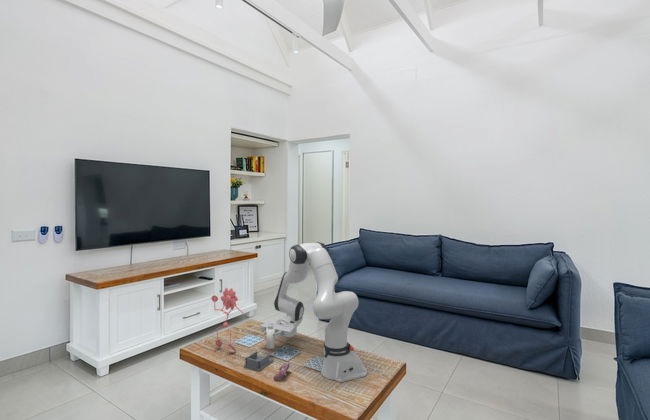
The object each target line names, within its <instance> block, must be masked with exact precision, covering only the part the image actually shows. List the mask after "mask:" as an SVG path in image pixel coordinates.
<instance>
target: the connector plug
mask: <svg viewBox="0 0 650 420" xmlns="http://www.w3.org/2000/svg"><path fill="white" fill-rule="evenodd" d="M273 333H275V328H274V327H273V324H268V328H267V329H266V335H265V336H266V342H265V343H266V344H265V345H266V347H265V348H267V349H269V350H270V349H274V348H275V346H276V345H275V344H276V342H275V341H276V339H275V338H276V337H273Z"/></svg>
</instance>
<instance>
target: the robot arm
mask: <svg viewBox="0 0 650 420" xmlns="http://www.w3.org/2000/svg"><path fill="white" fill-rule="evenodd" d="M288 251H289V253H288V256H289V265H288V270H287V271H285V272H284V273H283V275H282V277H281V280H280V283H279V288H278V291H277V294H276V297H275V298H274V302H273V306H274V310H276V311H277V312H280V313H283V314H285V315H286V316H283V317H281V318H279V319H278V320H277V321H276V322H273V321H267V322H265V323H262V324H260V332H262V333H263V334H264V336H266V329H267V328H268V324H273V327H274V328H275V333H273V337H275V338H276V337H286V338H292V337H294V336H295V335H297V330H298V326H300V324H301V323H302V322H303V319H304V318H303V317H304V316H303V315H304V313H305V312H304V311H305V308H304V307H305V306H304V304H303V302H302V301H301V300H298V299H296V298H293V297H290V296H288V294H287V292H288V288H289V285H290V284H299V283H302V282H304V281H305V279H307V276H308V271H309V264H310V265H311V269H312V271H313V275H314V277H315V281H316V285H317V286H316V287H317V295H316V298H315V299H314V302H313V303H312V304H313V305H312V311H313V314H314V316H315V317H316V318H317V319H319V320H329V322H328V323H327V324H325V325H326V326H325V328H324V343H323V351H322V352H323V362H322V366H321V367H322V368H321V370H320V374H321V375H322V376H323V377H324V378H326V379H329V380H333V381H335V382H338V383H344V382H347V381H351V380H356V379H360V378H363V377H364V378H365V377H366V376H367V375H368V371H367V368H366V366H365V365H364V364H363V363H362V360H361V358H360V357H359V355H358V354H357V353H355V352H354V349H355V347H354V346H353V345H351V344H350V343H349V342H348V333H349V332H348V329H349V324H350V322H351V319H352V316H353V314H354V312H355V311H356V310H357V309H358V307H359V303H360V301H359V298H358V296H357V294H356V293H355V292H353V291H350V290H349V291H347V290H346V291H345V290H344V291H339V292H336V291H335V290H336V289H335V285H336V284H337V283H338V281H339V276H338V273H337V271H336V268H335V265H334V263H333V260H332V257H331V256H330V254H329V251H328V248H327V245H326V244H325V243H324V242H304V243H299V244H294V245H292V246H291V247H290V249H289V250H288Z"/></svg>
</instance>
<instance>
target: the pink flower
mask: <svg viewBox="0 0 650 420" xmlns="http://www.w3.org/2000/svg"><path fill="white" fill-rule="evenodd" d="M236 294H237V292H236V291H235V290H234V289H233V288H229V287H225V288H224V290H223V292H222V296H220V301H221V302H222V306H223V307H222V308H221V309H219V308H218V309H217V308H216V302H218V300H219V298H218V296H217V295H216V294H213V295H212V296H211V301H212V302H213V303H214V305H213V307H214V309H213V310H214V311H220V312H223V314H225V315H226V320H225V322H223V324H222V325H220V326H219V327H217V328H216V329H215V331H216V336H217V339H216V340H215V341H214V342H215V347H214V351H213V352H216V350H217V348H221V347H222V345H223V341H221V339H219V333H218V329H220V328H222V327H223V328H227V329H228V330H229V332H230V335H229V342H227V345H228V347H227V350H226V352H225V355H224V356H225V357H227V354H228V352H229V350H230V349H231V350H232V351H234V352H235V353H237V350H236V348H235V347H234V346H233V345H232V341H231V339H232V332H231V329H230V328H229V323H228V317H229V315H230V314H231V312H232V311H233V310H234V309H235V308H236V309H237V311H240V313H242V314H243V315H244V314H245V313H244V312H243V310H241V309H240V308H239V307H238V306H237V301H239V297H238V296H237V295H236ZM224 309H225V310H224ZM229 309H230V310H229ZM227 310H229V312H227ZM233 344H235V345H239V343H236V342H234V343H233ZM241 347H242V348H243V347H244V346H243V345H241ZM232 359H234V357H232Z"/></svg>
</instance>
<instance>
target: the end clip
mask: <svg viewBox="0 0 650 420" xmlns="http://www.w3.org/2000/svg"><path fill="white" fill-rule="evenodd" d="M270 356H271V355H270V354H266V355H265V356H264V355H261V354H259V355H258V351H254V352H253V353H251V354H249V355H248V356H246V357H245V362H244V363H245V364H243V368H245V369H247V370H248V369H249V370H252V371H255V372H258V373H260V372H261V371H263V370H264V369H265V368H266V367H268V366H269V365H271V364H273V362H274V360H275V359H274V358H271V357H270Z"/></svg>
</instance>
